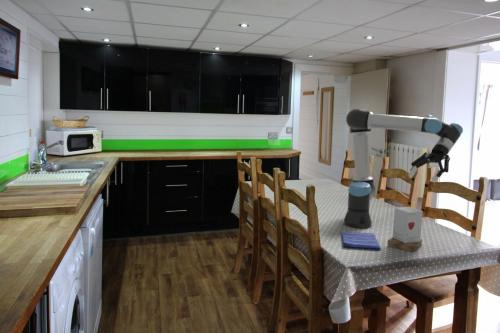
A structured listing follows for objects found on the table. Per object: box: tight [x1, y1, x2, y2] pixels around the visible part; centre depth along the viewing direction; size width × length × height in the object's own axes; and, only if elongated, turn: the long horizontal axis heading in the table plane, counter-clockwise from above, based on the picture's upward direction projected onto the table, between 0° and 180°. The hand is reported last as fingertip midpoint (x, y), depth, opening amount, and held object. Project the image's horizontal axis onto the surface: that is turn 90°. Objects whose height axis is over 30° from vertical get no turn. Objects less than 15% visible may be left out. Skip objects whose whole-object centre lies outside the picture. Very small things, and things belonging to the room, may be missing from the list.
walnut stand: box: [387, 236, 423, 253], centre depth 183 cm, size 12×12×3 cm
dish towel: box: [340, 229, 382, 251], centre depth 189 cm, size 17×24×3 cm
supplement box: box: [392, 206, 424, 243], centre depth 182 cm, size 9×9×15 cm
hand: (420, 178), depth 195 cm, fingers open, 13 cm apart
